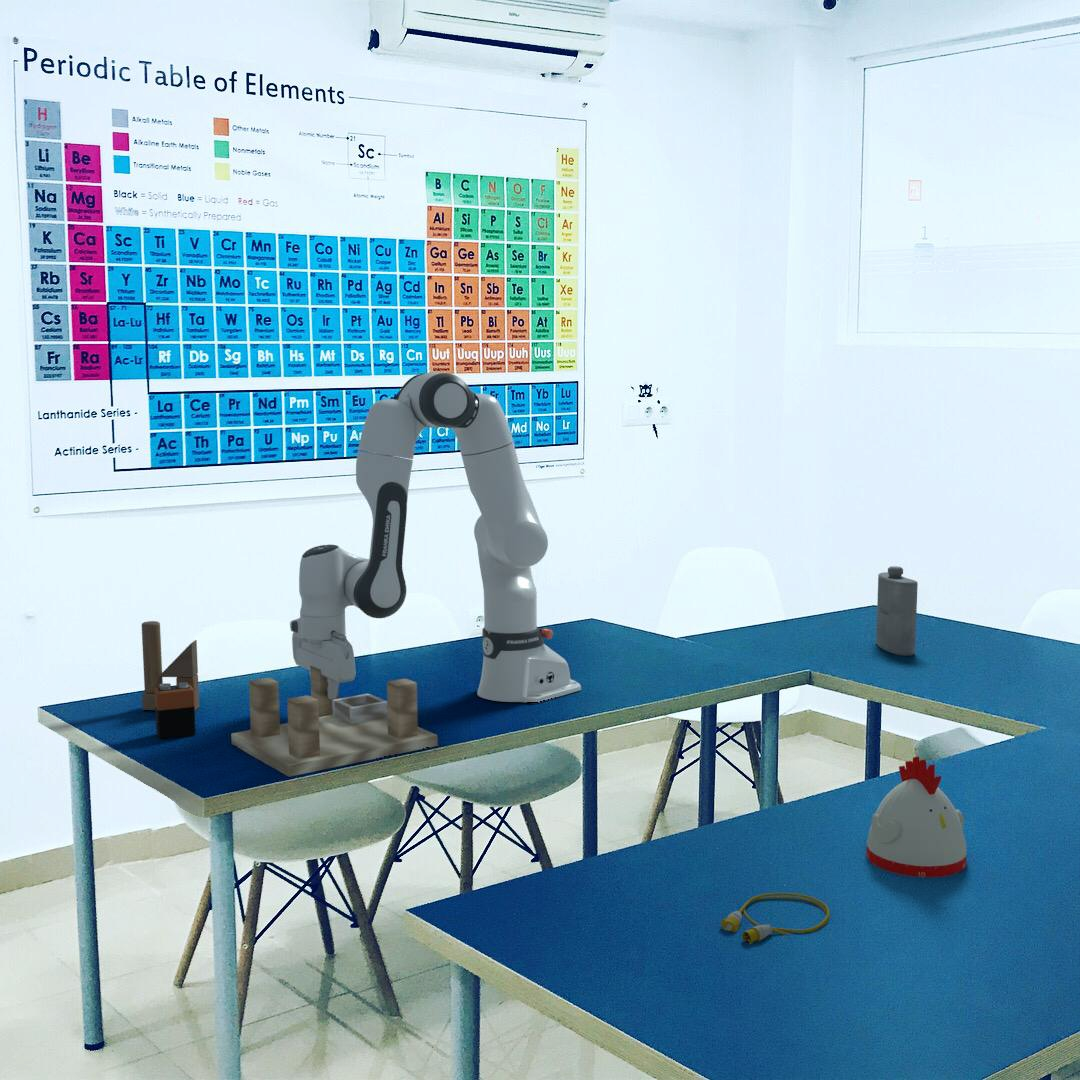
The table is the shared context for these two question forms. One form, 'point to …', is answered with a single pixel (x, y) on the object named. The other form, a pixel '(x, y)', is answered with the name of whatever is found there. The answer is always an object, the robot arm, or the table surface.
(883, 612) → the flask
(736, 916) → the extension cord
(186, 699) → the battery
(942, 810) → the kitchen timer
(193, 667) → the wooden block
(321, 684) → the oak leg
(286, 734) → the stone peg stand
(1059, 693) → the table surface
